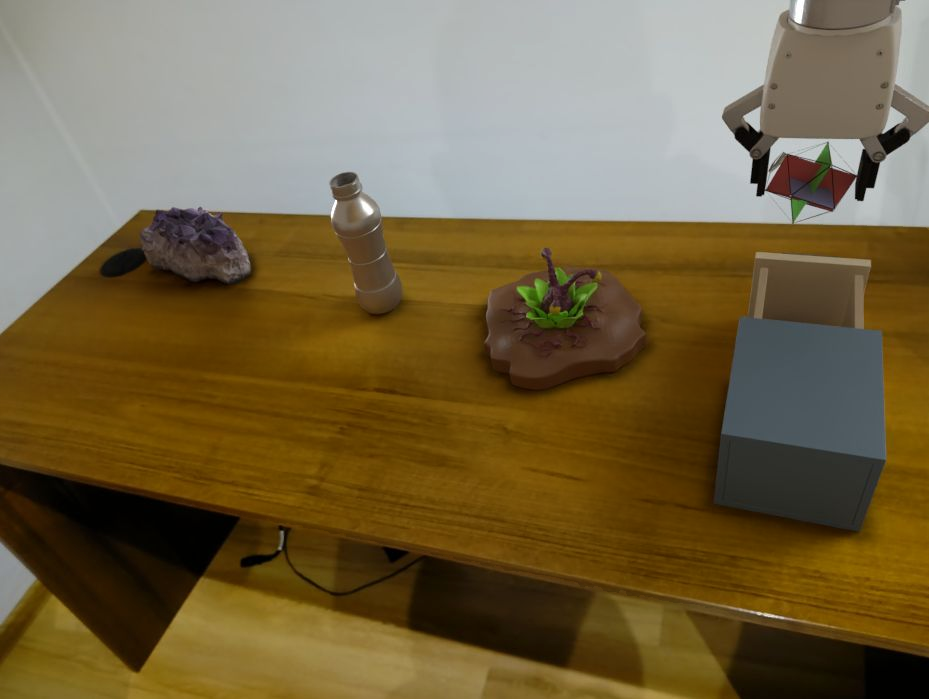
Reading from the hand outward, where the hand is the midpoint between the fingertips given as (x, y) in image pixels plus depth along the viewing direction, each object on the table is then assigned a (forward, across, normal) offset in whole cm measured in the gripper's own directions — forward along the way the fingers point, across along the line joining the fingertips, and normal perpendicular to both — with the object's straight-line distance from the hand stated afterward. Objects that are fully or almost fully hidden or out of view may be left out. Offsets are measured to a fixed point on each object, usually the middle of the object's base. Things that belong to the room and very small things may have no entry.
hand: (809, 190), depth 69 cm
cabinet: (+21, -2, +15) cm, 26 cm away
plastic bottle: (+21, +52, +1) cm, 56 cm away
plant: (+21, +26, +2) cm, 33 cm away
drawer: (+20, -2, +1) cm, 20 cm away
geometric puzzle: (+3, 0, 0) cm, 3 cm away
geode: (+21, +87, -4) cm, 89 cm away
